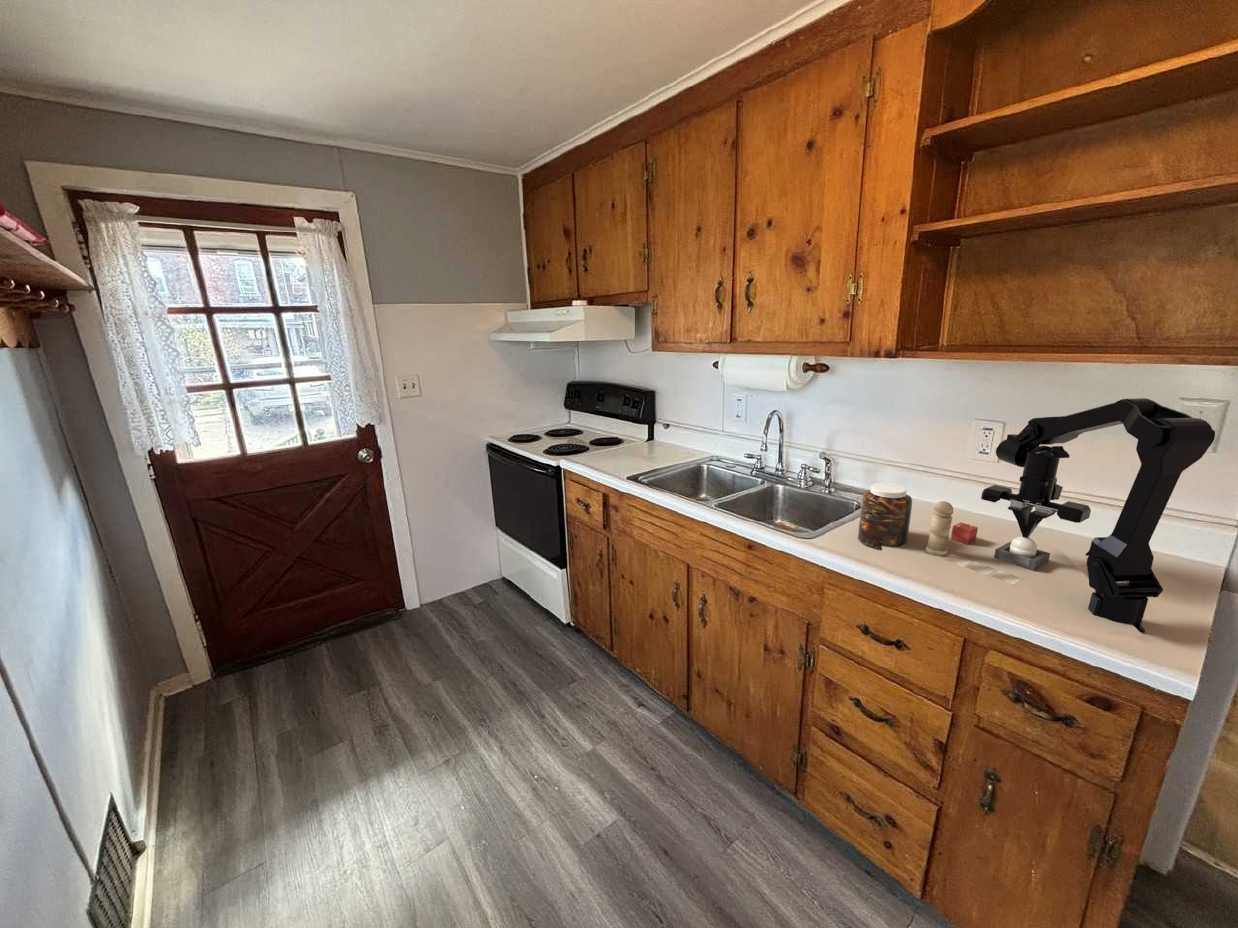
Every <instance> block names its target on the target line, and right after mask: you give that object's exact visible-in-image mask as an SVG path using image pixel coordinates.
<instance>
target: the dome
mask: <svg viewBox="0 0 1238 928" xmlns="http://www.w3.org/2000/svg"><path fill="white" fill-rule="evenodd" d="M1010 542H1011V545H1010V550H1009V552H1012V553H1015V554H1018V555H1021V556H1024V557H1028V558H1031V559H1033V558H1034V557H1035V555H1036V551H1037V549H1038V547H1037V546H1038V545H1037V542H1035V540H1034V539H1033V538H1031V537H1030V536H1029V537H1028V538H1024V537H1023V536H1017V537H1015V538H1013V539H1012V540H1011V541H1010Z"/></svg>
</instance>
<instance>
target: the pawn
mask: <svg viewBox="0 0 1238 928" xmlns="http://www.w3.org/2000/svg"><path fill="white" fill-rule="evenodd" d="M953 514H954V507H953V505H952V504H951V503H950V502H949V501H943V500H942V501H938V502H936V503H935V504H934V506H933V513H932V515H931V523H930V528H929V535H928V540H927V544H926V546H925V549H926V552H927V553H929V554H928V555H930V554H931V555H930V556H932V555H934V556H933V557H935V556H945V557H947V556H948V555H947V552H948V544H949V539H950V538H949V537H950V534H951V533H950V532H951V526H952V521H953V516H952V515H953ZM927 553H926V554H927ZM946 555H947V556H946Z"/></svg>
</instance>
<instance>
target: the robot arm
mask: <svg viewBox="0 0 1238 928" xmlns="http://www.w3.org/2000/svg"><path fill="white" fill-rule="evenodd" d="M1118 425H1123V427H1124V429H1125V432H1126V433H1128V434H1129V435H1130V436H1132V437H1133V438H1135V439H1137V443H1136V447H1135V450H1136V453H1137V456H1138V459H1139V461H1140V467H1139V470H1138V472H1137V474H1136V477H1134V478H1135V479H1134V481H1133V484H1132V486H1131V488H1130V491H1129V493H1128V495H1127V497H1126V499H1125V502H1124V504H1123V507H1122V510H1121V512H1120V513H1119V516H1118V519H1117V521H1116V524H1115V525H1114V528H1113V530H1112V532H1111V534H1109V535H1108V536H1101V537H1099V536H1098V537H1096V536H1095V537H1093V539H1092V540H1091V543H1090V547H1089V550H1087V552H1086V553H1085V554H1084V555H1085V556H1087V557H1086V558H1087V559H1086V567H1087V576H1088V585H1089V587H1090V588H1091V589H1093V590H1094V591H1093V592H1092V593H1091V595H1090V599H1089V604H1088V607H1087V610H1088V611H1089V612H1090V613H1091V614H1092V615H1093V616H1095V617H1099V618H1102V619H1103V618H1104V619H1107V620H1109V621H1111V622H1115V623H1118V624H1123V625H1133V627H1134V628H1135V629H1136V630H1137V631H1138V632H1139V633H1145V632H1146V629H1145V628H1144V627H1143V626H1142V623H1143V622H1142V621H1143V618H1144V616H1145V613H1146V608H1147V605H1148V602H1149V598H1159V596H1160V595H1161V594H1162V593H1163V591H1164V588H1163V587H1162V585H1161V583H1160V581H1159V580H1158V578H1157V577H1156V575H1155V572H1154V571H1153V569H1152V566H1153V564H1154V558H1155V557H1154V555H1153V552H1152V549H1151V546H1150V542H1151V539H1152V537H1153V535H1154V533H1155V530H1156V528H1157V526H1158V524H1159V522H1160V520H1161V518H1162V516H1163V513H1164V510H1165V509H1166V508H1167V505H1168V502H1169V500H1170V499H1171V496H1172V494H1173V492H1174V489H1175V488H1176V486H1177V484H1178V481H1179V479H1180V476H1181V475H1182V473H1183V472H1184V471H1185V470H1187V469H1188V468H1190V467H1191V466H1192V465H1194V464H1195V463H1196V462H1198V461H1199V460H1201V459H1202V457H1204V456H1205V453H1206V452H1208V450H1209V448H1210V447H1211V445H1212V444H1213V443H1214V440H1215V438H1216V431H1215V430H1214V429H1213V427H1212V426H1211V424H1210V423H1209V421H1207V420H1205V419H1202V418H1198V417H1192V415H1191V416H1190V415H1189V414H1187V413H1184V412H1182V411H1178V410H1176V409H1173V408H1169V407H1168V406H1163V405H1161V404H1159V403H1157V402H1156V401H1154V400H1152V399H1149V398H1146V397H1145V398H1123V399H1120V400H1119V399H1118V400H1117V401H1115V402H1111V403H1108V404H1105V405H1101V406H1097V407H1094V408H1090V409H1086V410H1083V411H1078V412H1075V413H1071V414H1068V415H1062V416H1061V415H1059V416H1047V417H1046V416H1044V417H1033V418H1031V419H1030V420H1029V421H1028V422H1027V425H1025V427H1024V428H1023V429H1022V430H1021V431H1020V432H1019V433H1018V434H1015V433H1013V434H1011V433H1010V434H1007V436H1006V438H1005V439H1003V440H1002V441H1000V443H999V444H998V446H997V447H996V448H995V455H996V457H997V458H998V460H1000V461H1002V462H1005V463H1008V464H1010V465H1014V466H1017V467H1019V468H1020V467H1021V468H1023V469H1022V470H1023V471H1022V476H1019V482H1020V486H1019V490H1018V493H1012V492H1013V490H1012V488H1011V487H1006V486H1002V485H999V484H998V485H997V484H993V485H991V486H989V487H986V488H984V489H983V490H982V492H981V497H980V499H981V500H982V501H986V502H990V503H994V504H995V503H997V502H999V501H1000V500H1005V501H1008V502H1010V504H1009V506H1008V507H1007V509H1008V510H1009V511H1012V513H1013V515H1014V517H1015V519H1016V521H1017V524H1018V527H1019V530H1020V533H1021V535H1022V536H1023V537H1024V538H1028V537H1029V538H1030V536H1031V535H1032V533H1033V532H1034V531H1035V529H1036V528H1037V527H1038V526H1039V524H1040V522H1042V521H1043V520H1044V519H1048V518H1049V517H1051V516H1053V515H1057V517H1058V518H1059V519H1060V520H1064V521H1068V522H1072V523H1075V524H1076V523H1077V524H1080V523H1083V522H1084V521H1086V520H1087V519H1089V518H1090V516H1091V512H1092V510H1091V508H1090V506H1089V505H1087V504H1084V503H1083V504H1082V503H1078V502H1075V501H1070V500H1068V501H1066V502H1064V503H1062V504H1061V503H1057V502H1053V501H1059V499H1060V497H1061V494H1062V491H1063V487H1064V486H1062V485H1059V484H1057V481H1058V477H1057V473H1058V469H1059V468H1058V467H1059V463H1060V459H1069V458H1070V457H1071V455H1070V454H1069V452H1068V451H1067V450H1065V449H1064V446H1062V445H1055V444H1065V443H1069V442H1070V441H1072V440H1075V439H1077V438H1078V437H1079V436H1080V435H1082V434H1084V433H1088V432H1093V431H1096V430H1100V429H1101V430H1102V429H1105V428H1111V427H1114V426H1118ZM1049 445H1051V446H1049ZM1053 445H1055V446H1053ZM1033 508H1034V509H1035V510H1033Z"/></svg>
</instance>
